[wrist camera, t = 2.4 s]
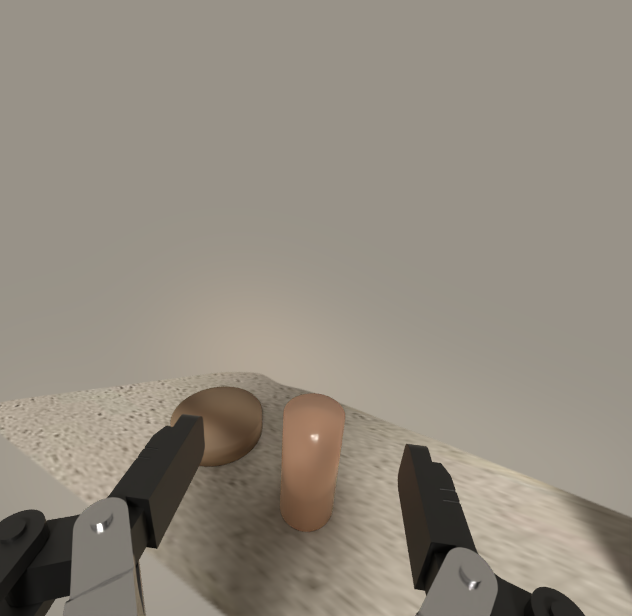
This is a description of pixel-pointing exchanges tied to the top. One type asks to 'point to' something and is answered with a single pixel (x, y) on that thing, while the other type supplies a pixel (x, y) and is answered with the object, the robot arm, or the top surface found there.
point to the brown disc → (224, 422)
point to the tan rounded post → (310, 460)
